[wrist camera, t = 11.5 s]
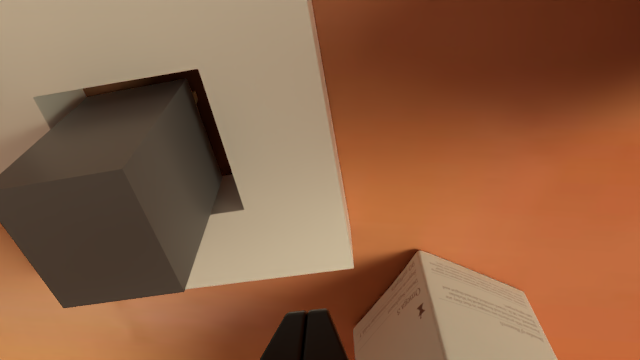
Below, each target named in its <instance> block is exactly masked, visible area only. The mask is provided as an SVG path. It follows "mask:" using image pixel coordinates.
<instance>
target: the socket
mask: <svg viewBox="0 0 640 360" xmlns="http://www.w3.org/2000/svg"><path fill="white" fill-rule="evenodd" d="M194 69H198V70H199V73H200V76H201V79H202V82H203V85H204V88H205V91H206V94H207V97H208V101H209V104H210V107H211V110H212V113H213V116H214V119H215V122H216V125H217V128H218V131H219V134H220V137H221V140H222V143H223V146H224V149H225V152H226V155H227V158H228V161H229V164H230V167H231V171H232V174H231V175H224V176H222V177H223V178H222V181H221V184H220V187H219V190H218V193H217V196H216V199H215V202H214V205H213V208H212V211H211V214H210V217H209V220H208V223H207V226H206V229H205V232H204V234H203V237H202V240H201V243H200V246H199V249H198V252H197V255H196V258H195V261H194V264H193V267H192V270H191V273H190V276H189V279H188V282H187V285H186V288H185V289H192V288H200V287H208V286H216V285H224V284H232V283H240V282H248V281H256V280H264V279H272V278H280V277H288V276H296V275H304V274H312V273H320V272H328V271H336V270H344V269H352V268H354V262H353V251H352V240H351V229H350V222H349V216H348V210H347V204H346V199H345V193H344V187H343V181H342V175H341V169H340V164H339V158H338V152H337V146H336V140H335V134H334V129H333V123H332V117H331V111H330V105H329V99H328V94H327V88H326V82H325V76H324V70H323V64H322V58H321V53H320V47H319V41H318V35H317V29H316V23H315V18H314V12H313V6H312V0H0V174H1V173H2V172H3V171H4V170H5V169H6V168H8V167H9V166H10V165H11V164H12V163H13V162H14V161H15V160H17V159H18V158H19V157H20V156H21V155H22V154H23V153H25V152H26V151H27V150H28V149H29V148H30V147H31V146H32V145H34V144H35V143H36V142H37V141H38V140H39V139H40V138H41V137H43V136H44V135H45V134H46V133H47V132H48V131H49V130H50V129H52V128H53V127H54V126H55V125H56V124H57V123H58V122H59V121H61V120H62V119H63V118H64V117H65V116H66V115H67V114H69V113H70V112H71V111H72V110H73V109H74V108H75V107H76V106H78V105H79V104H80V103H81V102H82V101H83V100H84V99H85V98H87V97H86V95H85V93H84V91H83V88H89V87H95V86H101V85H106V84H112V83H118V82H124V81H130V80H136V79H141V78H147V77H153V76H159V75H165V74H171V73H177V72H182V71H188V70H194Z"/></svg>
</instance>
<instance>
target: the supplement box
mask: <svg viewBox="0 0 640 360" xmlns="http://www.w3.org/2000/svg"><path fill="white" fill-rule="evenodd" d="M353 338H354V352H355V360H557V358H556V356H555V354H554V352H553V350H552V348H551V346H550V344H549V342H548V340H547V338H546V336H545V334H544V332H543V330H542V328H541V326H540V324H539V322H538V320H537V318H536V316H535V314H534V312H533V310H532V308H531V306H530V304H529V302H528V300H527V298H526V295H525V294H524V292H523V291H520V290H518V289H516V288H514V287H511V286H509V285H507V284H504V283H502V282H499V281H497V280H494V279H492V278H489V277H487V276H485V275H482V274H480V273H477V272H475V271H472V270H470V269H468V268H465V267H462V266H460V265H457V264H455V263H453V262H450V261H448V260H445V259H442V258H440V257H438V256H436V255H433V254H430V253H427V252H424V251H421V250H419V251H417V252H416V253H415V255H414V256H413V258H412V259H411V260H410V262H409V263H408V264H407V266H406V267H405V268H404V270H403V271H402V272H401V274H400V275H399V276H398V277H397V279H396V280H395V281H394V282H393V284H392V285H391V286H390V287H389V288H388V290H387V291H386V292H385V293H384V294H383V295H382V297H381V298H380V299H379V300H378V301H377V303H376V304H375V305H374V306H373V307H372V308H371V310H370V311H369V312H368V313H367V314H366V315H365V316H364V317H363V318H362V319H361V321H360V322H359V323H358V324H357V325H356V326H355V327H354V329H353Z"/></svg>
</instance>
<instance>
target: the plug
mask: <svg viewBox="0 0 640 360" xmlns="http://www.w3.org/2000/svg"><path fill="white" fill-rule="evenodd" d="M197 101H198V97H197V95H196V92H195V91H193V92H192V91H191V89H190V86H189V83H188V80H187V78H185V79H180V80H175V81H169V82H164V83H159V84H153V85H148V86H142V87H137V88H132V89H126V90H121V91H115V92H110V93H105V94H99V95H94V96H89V97H87V98H85V99H84V100H83V101H82V102H81V103H80V104H79V105H78V106H76V107H75V108H74V109H73V110H72V111H71V112H70V113H69V114H67V115H66V116H65V117H64V118H63V119H62V120H61V121H59V122H58V123H57V124H56V125H55V126H54V127H53V128H52V129H50V130H49V131H48V132H47V133H46V134H45V135H44V136H43V137H41V138H40V139H39V140H38V141H37V142H36V143H35V144H34V145H32V146H31V147H30V148H29V149H28V150H27V151H26V152H25V153H23V154H22V155H21V156H20V157H19V158H18V159H17V160H15V161H14V162H13V163H12V164H11V165H10V166H9V167H8V168H6V169H5V170H4V171H3V172H2V173H1V174H0V223H1V224H2V225H3V227H4V228H5V229H6V231H7V232H8V233H9V235H10V236H11V237H12V239H13V240H14V242H15V243H16V244H17V246H18V247H19V248H20V250H21V251H22V252H23V254H24V255H25V257H26V258H27V259H28V261H29V262H30V263H31V265H32V266H33V267H34V269H35V270H36V271H37V273H38V274H39V276H40V277H41V278H42V280H43V281H44V282H45V284H46V285H47V286H48V288H49V289H50V291H51V292H52V293H53V295H54V296H55V297H56V299H57V300H58V301H59V303H60V304H61V306H62V307H63V308H69V307H76V306H83V305H91V304H98V303H106V302H113V301H120V300H128V299H135V298H142V297H150V296H157V295H164V294H172V293H179V292H184V291H185V288H186V285H187V282H188V279H189V276H190V273H191V270H192V267H193V264H194V261H195V258H196V255H197V252H198V249H199V246H200V243H201V240H202V237H203V234H204V232H205V229H206V226H207V223H208V220H209V217H210V214H211V211H212V208H213V205H214V202H215V199H216V196H217V193H218V190H219V187H220V184H221V181H222V178H223V177H222V174H221V171H220V169H219V166H218V163H217V160H216V158H215V155H214V152H213V149H212V147H211V144H210V141H209V138H208V136H207V133H206V130H205V127H204V124H203V122H202V119H201V116H200V113H199V111H198V108H197V105H196V103H197Z"/></svg>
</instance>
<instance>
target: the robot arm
mask: <svg viewBox="0 0 640 360" xmlns="http://www.w3.org/2000/svg"><path fill="white" fill-rule="evenodd" d="M260 360H349V359H348V356H347V354H346V351H345V349H344V347H343V344H342V342H341V339H340V337H339V334H338V332H337V330H336V327H335V325H334V322H333V320H332V317H331V315H330V313H329V311H328V310H327V309H316V310H310V311H309V312H308V313H307V312H306V311H296V312H289V313H287V314H286V315H285V317H284V319H283V320H282V322H281V324H280V325H279V327H278V329H277V331H276V332H275V334H274V336H273V338H272V339H271V341H270V343H269V344H268V346H267V348H266V350H265V351H264V353H263V355H262V357H261V358H260Z"/></svg>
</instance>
